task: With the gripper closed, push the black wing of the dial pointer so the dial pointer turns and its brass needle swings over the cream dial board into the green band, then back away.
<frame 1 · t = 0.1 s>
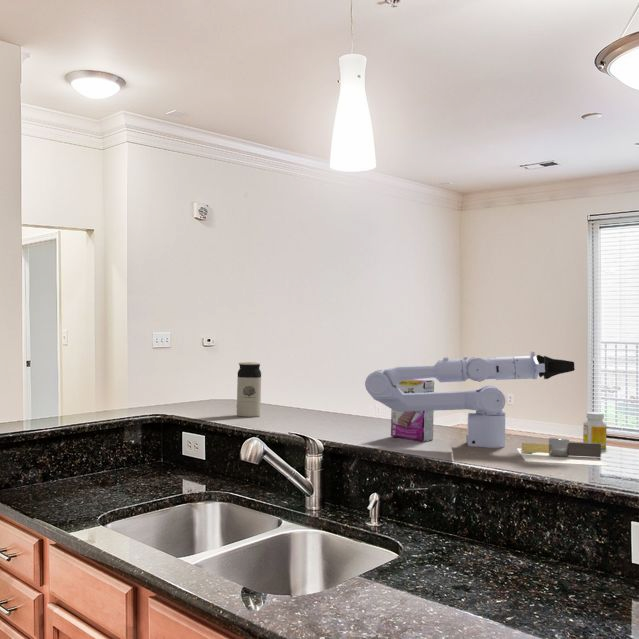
hand: (570, 365, 160), 22 cm above the worktop, tool horizontal, fingers open, 7 cm apart
travel mug: (248, 416, 219), on the worktop
supplement bottle: (594, 451, 163), on the worktop
candy bar box: (411, 439, 177), on the worktop
dial pointer: (560, 446, 149), point 3 cm above the worktop, hinge at 0.0°
dial board: (559, 460, 149), on the worktop
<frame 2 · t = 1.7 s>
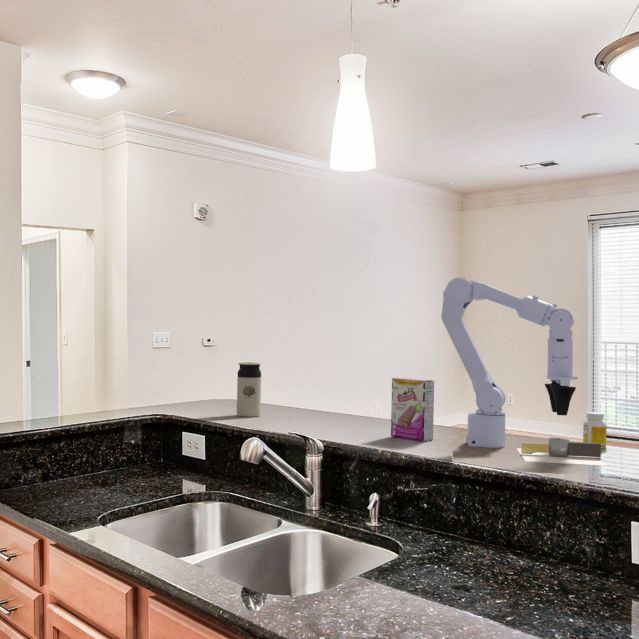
hand: (559, 413, 157), 10 cm above the worktop, tool pointing down, fingers open, 6 cm apart
nothing on the worktop moved.
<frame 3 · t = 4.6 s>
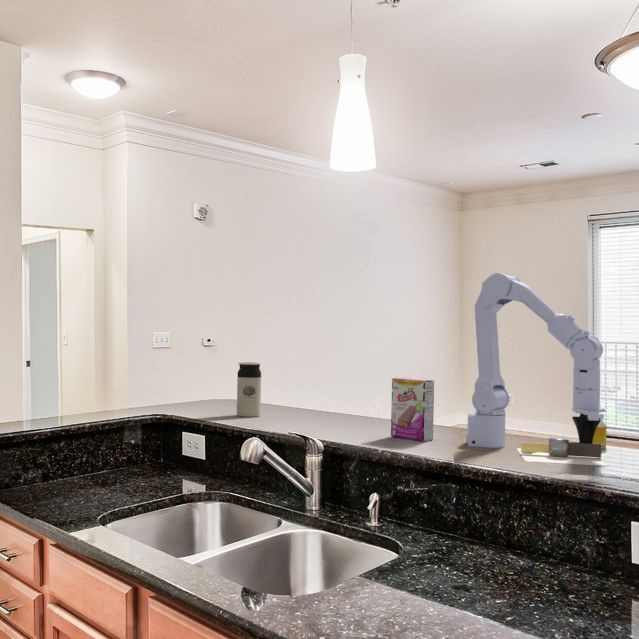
hand: (585, 448, 149), 3 cm above the worktop, tool pointing down, fingers closed, pressing on dial pointer
dial pointer: (560, 446, 149), point 3 cm above the worktop, hinge at 2.9°, touching gripper
everything else where it was.
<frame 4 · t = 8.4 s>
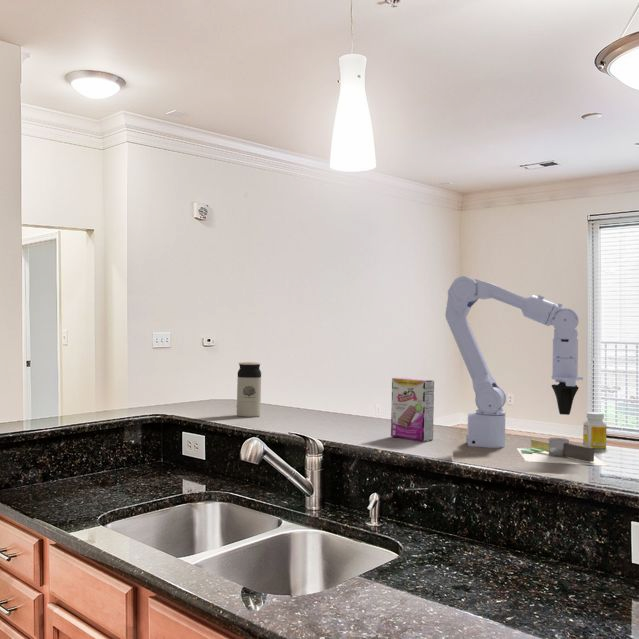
hand: (564, 414, 156), 10 cm above the worktop, tool pointing down, fingers closed
dial pointer: (560, 447, 149), point 3 cm above the worktop, hinge at 51.1°
everything else where it was.
at the end: dial pointer at +51° (first picture: +0°) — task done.
